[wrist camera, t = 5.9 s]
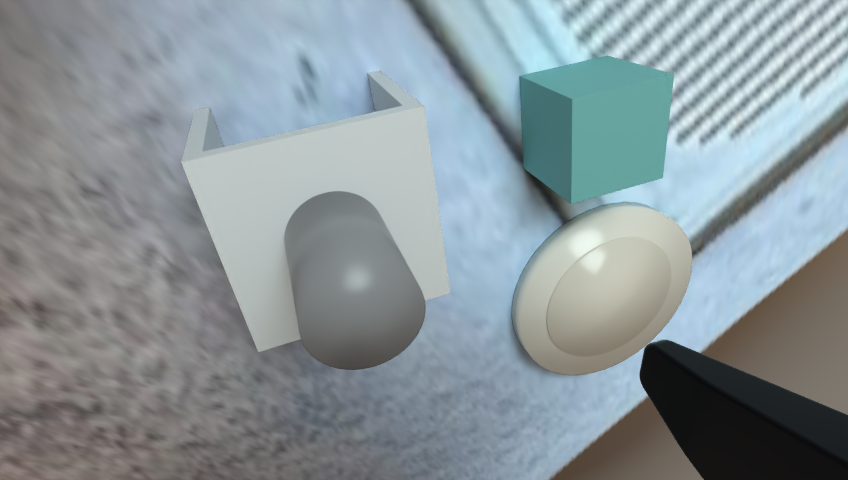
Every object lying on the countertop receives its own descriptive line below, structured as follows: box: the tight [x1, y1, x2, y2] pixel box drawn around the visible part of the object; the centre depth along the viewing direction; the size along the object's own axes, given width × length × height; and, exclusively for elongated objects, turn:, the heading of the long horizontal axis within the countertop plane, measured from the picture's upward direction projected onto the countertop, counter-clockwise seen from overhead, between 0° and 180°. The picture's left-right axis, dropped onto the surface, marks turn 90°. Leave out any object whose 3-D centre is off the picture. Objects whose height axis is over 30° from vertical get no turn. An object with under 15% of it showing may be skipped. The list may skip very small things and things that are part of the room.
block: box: [520, 56, 674, 204], centre depth 21 cm, size 4×4×4 cm
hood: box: [181, 70, 450, 370], centre depth 16 cm, size 7×7×10 cm
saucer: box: [512, 202, 692, 375], centre depth 27 cm, size 10×10×1 cm
